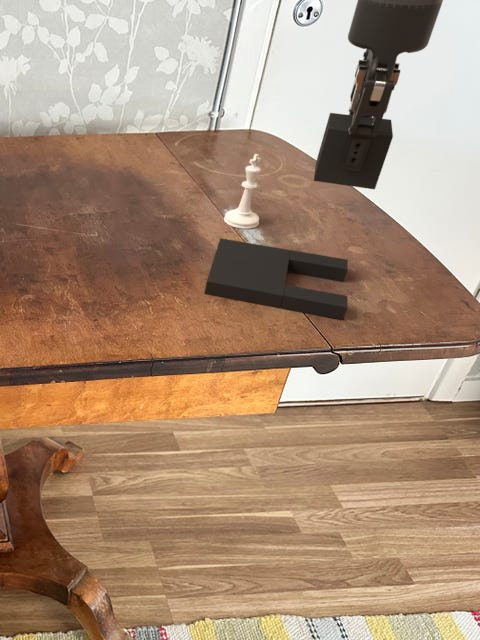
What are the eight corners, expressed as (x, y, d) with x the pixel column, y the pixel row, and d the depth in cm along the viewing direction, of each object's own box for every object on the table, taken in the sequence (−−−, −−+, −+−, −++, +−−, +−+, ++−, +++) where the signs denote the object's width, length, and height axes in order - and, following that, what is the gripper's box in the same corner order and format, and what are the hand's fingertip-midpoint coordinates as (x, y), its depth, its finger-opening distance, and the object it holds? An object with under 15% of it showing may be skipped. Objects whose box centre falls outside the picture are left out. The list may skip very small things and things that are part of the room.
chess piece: (266, 223, 102) (282, 156, 96) (242, 231, 100) (258, 164, 94) (240, 210, 105) (254, 145, 99) (216, 218, 103) (230, 152, 97)
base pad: (343, 271, 91) (347, 259, 90) (343, 320, 82) (347, 307, 81) (217, 249, 96) (220, 237, 95) (204, 293, 87) (206, 281, 86)
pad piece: (374, 171, 82) (391, 119, 78) (374, 189, 78) (393, 136, 74) (315, 163, 84) (330, 112, 80) (313, 181, 80) (328, 128, 76)
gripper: (450, 11, 63) (387, 189, 73) (437, -16, 73) (384, 142, 84) (360, 5, 65) (311, 178, 75) (360, -21, 76) (317, 134, 86)
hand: (350, 158), depth 79 cm, fingers closed on pad piece, 5 cm apart
